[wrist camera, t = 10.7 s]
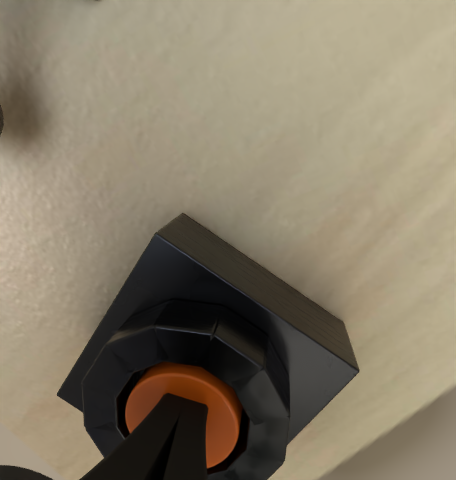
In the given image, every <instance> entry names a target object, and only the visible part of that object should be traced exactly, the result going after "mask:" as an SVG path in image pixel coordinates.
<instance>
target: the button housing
mask: <svg viewBox="0 0 456 480" xmlns="http://www.w3.org/2000/svg"><path fill="white" fill-rule="evenodd" d="M163 362H169V363H176V364H183V365H189V366H196V367H201V368H203V369H204V370H206V371H207V372H209V373H210V374H212V375H213V376H215V377H216V378H218V379H219V380H221V381H222V382H224V383H225V384H227V385H228V386H230V387H231V388H233V390H234V392H235V394H236V396H237V397H238V399H239V401H240V403H241V405H242V406H243V409H242V416H241V423H240V429H239V435H238V440H237V443H236V445H235V447H234V449H233V450H232V452H231V453H230V454H229V456H228V457H227V458H226V459H224V460H223V461H222V462H220V463H219V464H217V465H215V466H213V467H210V468H207V477H208V480H267V479H268V478H269V477H270V476H271V475H272V474H273V473H274V472H275V471H276V470H277V469H278V468H279V467H280V466H281V465H282V464H283V462H284V461H285V455H286V447H287V445H288V444H289V443H290V442H291V441H292V440H293V438H294V437H295V436H296V435H297V434H298V433H299V432H300V431H301V430H302V429H303V428H304V427H305V426H306V425H307V424H308V423H309V422H310V421H311V420H312V419H313V418H314V417H315V416H316V415H317V414H318V413H319V412H320V411H321V410H322V409H323V408H324V407H325V406H326V405H327V404H328V403H329V402H330V401H331V400H332V399H333V398H334V397H335V396H336V395H337V394H338V393H339V392H340V391H341V390H342V389H343V388H344V387H345V386H346V385H347V384H348V383H349V382H350V381H351V380H352V379H353V378H354V377H355V376H356V375H357V374H358V373H359V367H358V364H357V361H356V358H355V355H354V352H353V349H352V346H351V343H350V340H349V337H348V333H347V330H346V327H345V324H344V323H343V322H342V321H340V320H339V319H337V318H336V317H334V316H333V315H331V314H330V313H329V312H327V311H326V310H324V309H323V308H321V307H320V306H318V305H317V304H315V303H314V302H312V301H311V300H309V299H308V298H307V297H305V296H304V295H302V294H301V293H299V292H298V291H296V290H295V289H293V288H292V287H290V286H289V285H288V284H286V283H285V282H283V281H282V280H280V279H279V278H277V277H276V276H274V275H273V274H271V273H270V272H268V271H267V270H266V269H264V268H263V267H261V266H260V265H258V264H257V263H255V262H254V261H252V260H251V259H249V258H248V257H246V256H245V255H244V254H242V253H241V252H239V251H238V250H236V249H235V248H233V247H232V246H230V245H229V244H227V243H226V242H224V241H223V240H222V239H220V238H219V237H217V236H216V235H214V234H213V233H211V232H210V231H208V230H207V229H205V228H204V227H202V226H201V225H200V224H198V223H197V222H195V221H194V220H192V219H191V218H189V217H188V216H186V215H185V214H183V213H182V214H180V215H179V216H178V217H176V218H175V219H174V220H172V221H171V222H170V223H168V224H167V225H166V226H164V227H163V228H162V229H160V230H159V231H158V232H156V233H155V234H154V236H153V237H152V239H151V241H150V242H149V244H148V246H147V247H146V249H145V251H144V252H143V254H142V255H141V257H140V259H139V260H138V262H137V264H136V265H135V267H134V268H133V270H132V272H131V273H130V275H129V277H128V278H127V280H126V282H125V283H124V285H123V286H122V288H121V290H120V291H119V293H118V295H117V296H116V298H115V299H114V301H113V303H112V304H111V306H110V308H109V309H108V311H107V313H106V314H105V316H104V317H103V319H102V321H101V322H100V324H99V326H98V327H97V329H96V330H95V332H94V334H93V335H92V337H91V339H90V340H89V342H88V344H87V345H86V347H85V348H84V350H83V352H82V353H81V355H80V357H79V358H78V360H77V361H76V363H75V365H74V366H73V368H72V370H71V371H70V373H69V375H68V376H67V378H66V379H65V381H64V383H63V384H62V386H61V388H60V389H59V391H58V392H57V396H59V397H60V398H62V399H63V400H65V401H66V402H68V403H69V404H71V405H72V406H74V407H75V408H77V409H78V410H80V411H81V412H83V414H84V426H85V427H86V431H87V432H88V434H89V435H90V437H91V438H92V440H93V441H94V443H95V444H96V446H97V448H98V449H99V451H100V452H101V454H102V455H103V457H104V458H105V457H106V456H107V455H108V454H109V453H110V452H111V451H113V450H114V449H115V448H116V447H117V446H118V445H119V444H120V443H121V442H122V441H123V440H124V439H125V438H126V437H127V436H128V435H129V434H130V433H129V430H128V428H127V424H126V418H125V409H126V403H127V400H128V397H129V395H130V393H131V392H132V390H133V388H134V387H135V385H136V383H137V382H138V380H139V378H140V377H141V375H142V373H143V372H144V370H145V369H146V368H149V367H152V366H154V365H157V364H160V363H163Z"/></svg>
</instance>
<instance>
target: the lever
mask: <svg viewBox="0 0 456 480" xmlns="http://www.w3.org/2000/svg"><path fill="white" fill-rule="evenodd" d="M3 125H4V117H3V112H2V108H1V105H0V136H1V134H2V130H3Z"/></svg>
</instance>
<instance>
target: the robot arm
mask: <svg viewBox="0 0 456 480" xmlns="http://www.w3.org/2000/svg"><path fill="white" fill-rule="evenodd" d="M207 414H208V407H207V405H206V404H203V403H199V402H196V401H193V400H190V399H186V398H183V397H180V396H177V395H174V394H170V393H166V394H164V395H163V396H162V398H161V399H160V401H159V402H158V403H157V404H156V406H155V407H154V408H153V409H152V410H151V412H150V413H149V414H148V415H147V416H146V417H145V418H144V419H143V421H142V422H141V423H140V424H139V425H138V426H137V427H136V428H135V429H134V430H133V431H132V432H131V433H130V434H129V435H128V436H127V437H126V438H125V439H124V440H123V441H122V442H121V443H120V444H119V445H118V446H117V447H116V448H115V449H114V450H113V451H111V452H110V453H109V454H108V455H107V456H106V457H105V458H104V459H103V460H102V461H101V462H99V463H98V464H97V465H96V466H95V467H94V468H93V469H91V470H90V471H89V472H88V473H87V474H85V475H84V476H83V477H82V478H81V479H79V480H208V477H207V462H206V422H207Z"/></svg>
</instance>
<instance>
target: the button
mask: <svg viewBox="0 0 456 480" xmlns="http://www.w3.org/2000/svg"><path fill="white" fill-rule="evenodd" d="M166 393H170V394H174V395H177V396H180V397H183V398H186V399H190V400H193V401H196V402H199V403H203V404H206V405H207V407H208V414H207V422H206V462H207V468H210V467H213V466H215V465H217V464H219V463H220V462H222V461H223V460H224V459H226V458H227V457H228V456H229V454H230V453H231V452H232V450H233V449H234V447H235V445H236V443H237V440H238V435H239V429H240V423H241V416H242V409H243V406H242V405H241V403H240V401H239V399H238V397H237V396H236V394H235V392H234V390H233V388H231V387H230V386H228V385H227V384H225V383H224V382H222V381H221V380H219V379H218V378H216V377H215V376H213V375H212V374H210V373H209V372H207V371H206V370H204V369H203V368H201V367H196V366H189V365H183V364H176V363H169V362H163V363H160V364H157V365H154V366H152V367H149V368H146V369H145V370H144V372H143V373H142V375H141V377H140V378H139V380H138V382H137V383H136V385H135V387H134V388H133V390H132V392H131V393H130V395H129V397H128V400H127V403H126V409H125V418H126V424H127V428H128V430H129V433H131V432H132V431H133V430H134V429H135V428H136V427H137V426H138V425H139V424H140V423H141V422H142V421H143V419H144V418H145V417H146V416H147V415H148V414H149V413H150V412H151V410H152V409H153V408H154V407H155V406H156V404H157V403H158V402H159V401H160V399H161V398H162V396H163V395H164V394H166Z"/></svg>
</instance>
